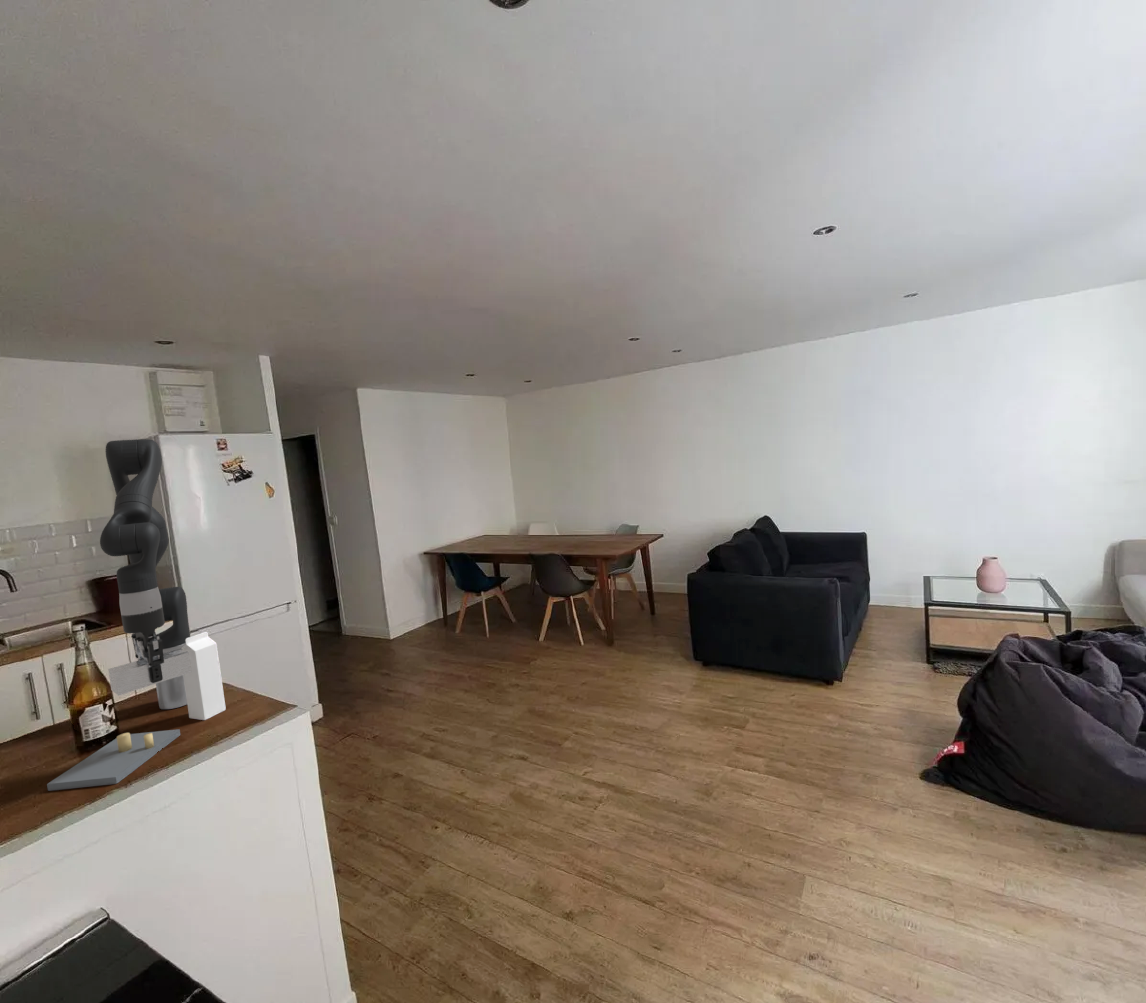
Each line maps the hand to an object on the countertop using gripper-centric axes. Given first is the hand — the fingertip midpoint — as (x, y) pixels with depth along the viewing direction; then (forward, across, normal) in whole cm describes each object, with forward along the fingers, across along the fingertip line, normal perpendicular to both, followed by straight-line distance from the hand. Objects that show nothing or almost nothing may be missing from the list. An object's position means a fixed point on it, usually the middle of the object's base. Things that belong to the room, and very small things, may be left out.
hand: (152, 678), depth 126 cm
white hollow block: (+1, 0, 0) cm, 1 cm away
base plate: (+17, +3, +8) cm, 19 cm away
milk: (+18, +11, -13) cm, 24 cm away
